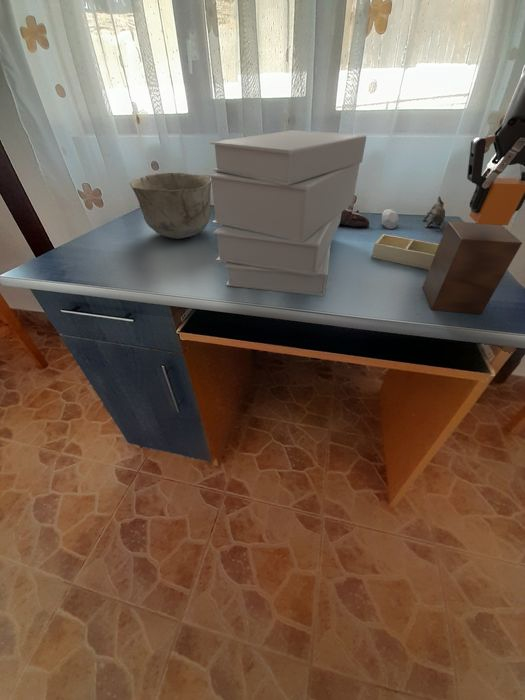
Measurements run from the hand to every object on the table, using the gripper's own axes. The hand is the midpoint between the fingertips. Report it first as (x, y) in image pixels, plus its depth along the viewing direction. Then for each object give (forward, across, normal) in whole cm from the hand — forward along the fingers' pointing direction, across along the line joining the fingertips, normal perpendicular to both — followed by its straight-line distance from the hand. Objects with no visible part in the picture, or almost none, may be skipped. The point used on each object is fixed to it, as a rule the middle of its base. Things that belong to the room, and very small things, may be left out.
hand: (491, 212), depth 50 cm
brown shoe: (+17, -20, +43) cm, 50 cm away
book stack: (+17, -36, +13) cm, 42 cm away
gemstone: (+17, -8, +43) cm, 47 cm away
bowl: (+17, -70, +25) cm, 76 cm away
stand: (+17, 0, 0) cm, 17 cm away
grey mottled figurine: (+17, +6, +46) cm, 50 cm away
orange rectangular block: (+1, 0, 0) cm, 1 cm away
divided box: (+17, -3, +18) cm, 25 cm away
